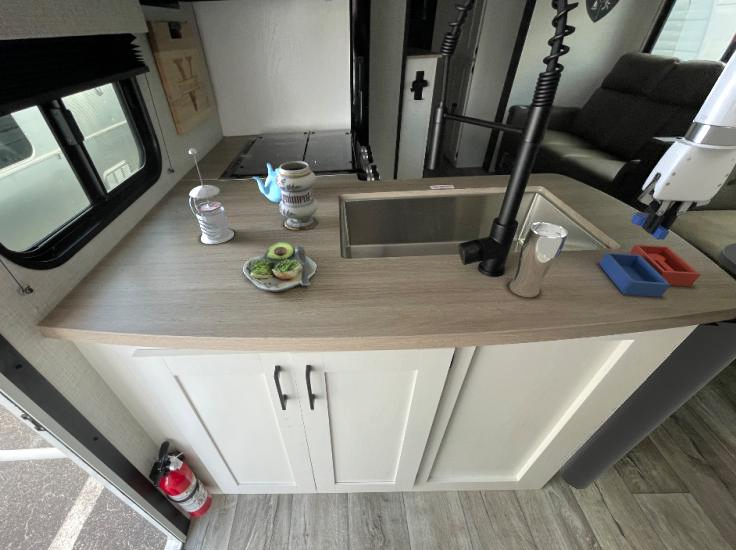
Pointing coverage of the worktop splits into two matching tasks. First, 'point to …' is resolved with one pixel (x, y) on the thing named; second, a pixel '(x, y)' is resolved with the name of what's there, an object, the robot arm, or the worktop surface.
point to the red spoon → (660, 261)
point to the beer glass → (537, 257)
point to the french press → (210, 213)
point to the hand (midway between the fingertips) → (653, 230)
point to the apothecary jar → (297, 194)
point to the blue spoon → (640, 219)
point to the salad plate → (280, 268)
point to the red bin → (682, 269)
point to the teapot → (270, 185)
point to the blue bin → (634, 275)
